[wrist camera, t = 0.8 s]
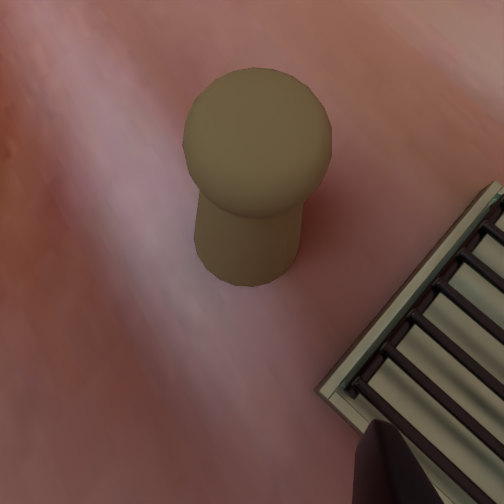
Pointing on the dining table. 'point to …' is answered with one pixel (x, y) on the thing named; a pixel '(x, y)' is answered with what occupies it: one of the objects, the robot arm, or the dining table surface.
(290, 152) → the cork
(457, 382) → the dish rack
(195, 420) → the dining table surface
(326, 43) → the dining table surface
